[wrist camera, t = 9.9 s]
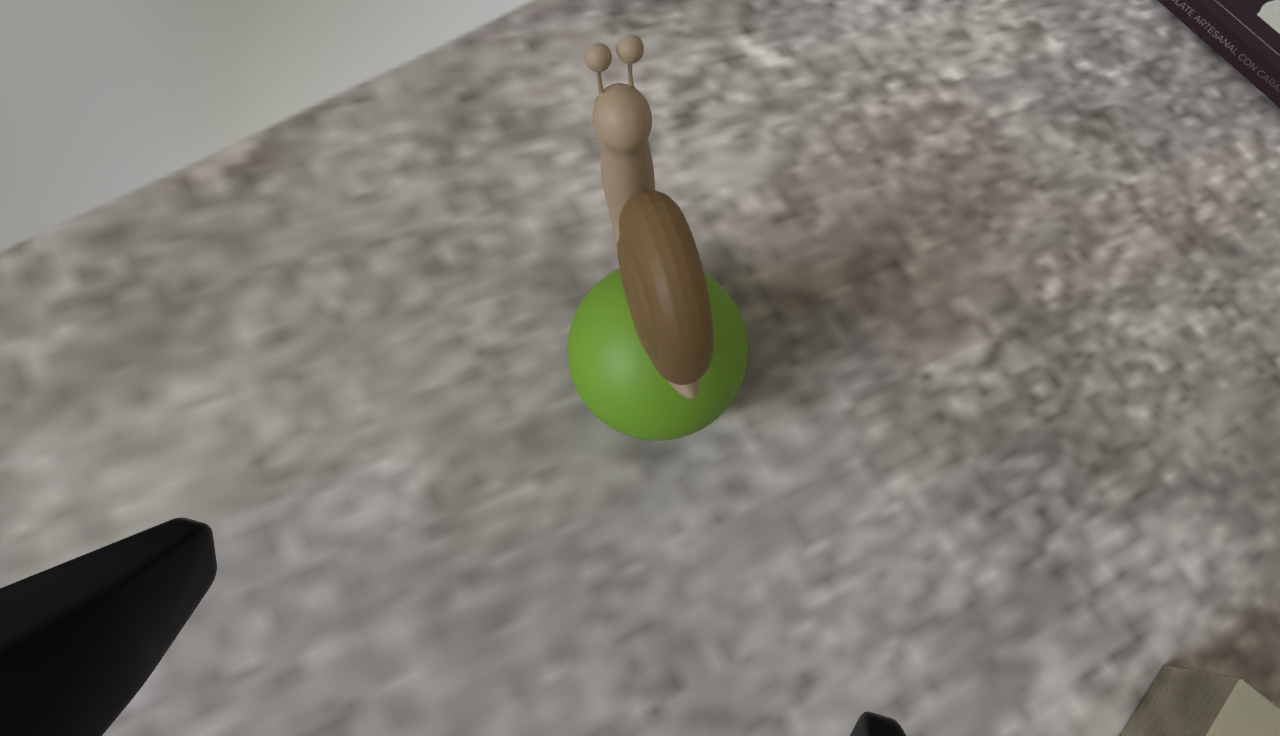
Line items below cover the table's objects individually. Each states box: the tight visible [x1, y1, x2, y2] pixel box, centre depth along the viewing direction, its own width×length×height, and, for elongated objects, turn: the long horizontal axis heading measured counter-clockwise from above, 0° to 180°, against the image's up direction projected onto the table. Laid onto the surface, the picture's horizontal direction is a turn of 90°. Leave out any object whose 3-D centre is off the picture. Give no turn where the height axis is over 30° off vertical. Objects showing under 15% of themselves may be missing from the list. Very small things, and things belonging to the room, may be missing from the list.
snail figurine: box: [568, 35, 748, 440], centre depth 19 cm, size 5×6×12 cm
